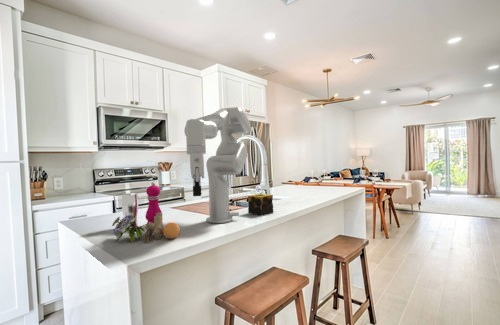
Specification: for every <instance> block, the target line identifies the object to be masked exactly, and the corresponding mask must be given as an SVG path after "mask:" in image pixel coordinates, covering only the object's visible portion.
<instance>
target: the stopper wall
mask: <svg viewBox="0 0 500 325" xmlns="http://www.w3.org/2000/svg"><path fill="white" fill-rule="evenodd" d="M154 234H155V233H154V230H151V229H149V228H148V229H147V230H146V231H144V233H143V244H149V243H150V241H151V239H152V237H153V235H154Z"/></svg>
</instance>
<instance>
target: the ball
mask: <svg viewBox="0 0 500 325" xmlns="http://www.w3.org/2000/svg"><path fill="white" fill-rule="evenodd" d="M163 227H164V229H163V233H164V234H163V235H164V237H165V238H166V239H168V240H170V239H171V240H172V239H175V238H177V237H178V236H179V234H180V231H181V229H180V226H179V225H178V223H176V222H168V223H167V224H165V225H164V226H163Z"/></svg>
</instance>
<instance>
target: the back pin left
mask: <svg viewBox="0 0 500 325" xmlns="http://www.w3.org/2000/svg"><path fill="white" fill-rule="evenodd" d="M153 234H154V240H159V241H160V240H161V239H162V235H161V216H154V233H153Z"/></svg>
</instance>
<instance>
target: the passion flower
mask: <svg viewBox="0 0 500 325" xmlns="http://www.w3.org/2000/svg"><path fill="white" fill-rule="evenodd" d="M133 216H134V212H133V213H132V214H131V215H128V216H126V217H125V218H124V217H122V218H121V217H120V216H118V217H117V218H115V220H114V221H113V223H112V225H111V226H112V227H114V226H115V227H114V229H113V234H114V236H115V237H116V238H115V241H116V242H118V241H119V240H120V239H121V238H122V237H123V234H124V233H126V234H128V236H129V237H128V238H129V241H130V242H131V243H133V242H134V243H135V238H137V240H139V239H140V238H142V236H143V235H144V233H143V232H146V231H147V229H148V228H147V223H145V224H143V225H142V226H140V225H139V226H138V227H135V218H133ZM132 218H133V219H132ZM131 226H133V227H132V228H130V227H131ZM143 227H145V228H143ZM145 230H146V231H145Z"/></svg>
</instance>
